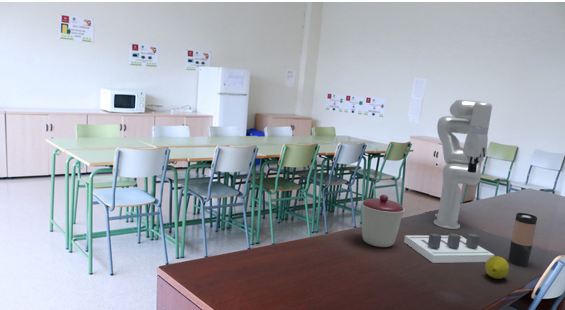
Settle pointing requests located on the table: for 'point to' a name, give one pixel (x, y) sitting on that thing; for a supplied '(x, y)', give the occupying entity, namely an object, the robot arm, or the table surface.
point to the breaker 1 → (434, 240)
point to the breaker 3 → (472, 240)
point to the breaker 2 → (453, 240)
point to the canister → (380, 221)
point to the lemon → (497, 267)
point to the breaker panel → (447, 250)
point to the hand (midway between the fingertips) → (471, 172)
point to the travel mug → (522, 239)
